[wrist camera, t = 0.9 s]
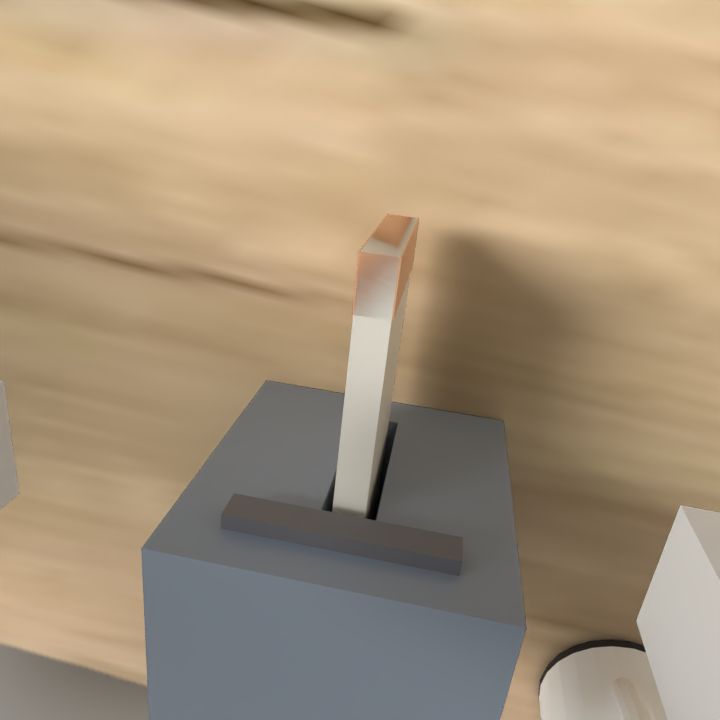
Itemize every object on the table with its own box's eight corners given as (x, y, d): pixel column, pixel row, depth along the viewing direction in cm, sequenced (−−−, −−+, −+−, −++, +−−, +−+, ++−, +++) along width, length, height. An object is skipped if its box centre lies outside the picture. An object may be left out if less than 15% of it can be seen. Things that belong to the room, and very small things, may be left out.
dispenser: (258, 537, 35) (150, 756, 23) (266, 369, 31) (140, 533, 19) (467, 578, 34) (466, 834, 22) (506, 410, 30) (530, 612, 18)
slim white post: (344, 563, 32) (312, 678, 25) (387, 214, 25) (358, 251, 18) (369, 568, 32) (343, 685, 25) (419, 218, 24) (401, 257, 18)
